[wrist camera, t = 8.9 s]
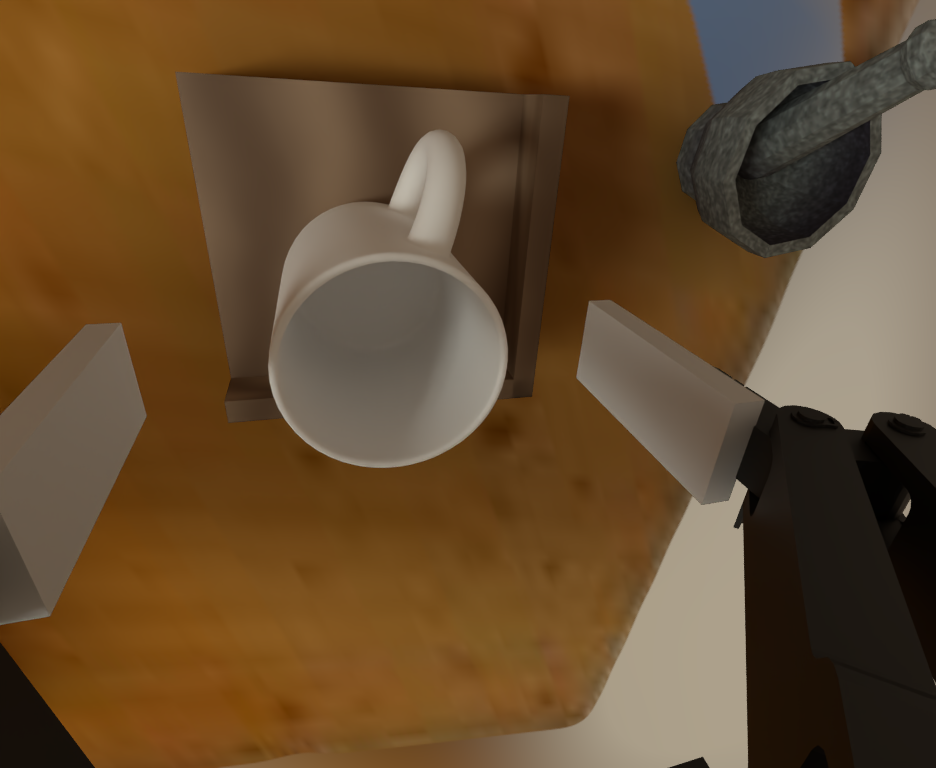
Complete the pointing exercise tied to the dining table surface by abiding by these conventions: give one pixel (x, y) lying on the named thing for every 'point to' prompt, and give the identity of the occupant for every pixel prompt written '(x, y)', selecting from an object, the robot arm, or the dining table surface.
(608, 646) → the dining table surface
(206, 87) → the shelf
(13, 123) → the dining table surface
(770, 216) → the mortar and pestle
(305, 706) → the dining table surface
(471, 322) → the mug
